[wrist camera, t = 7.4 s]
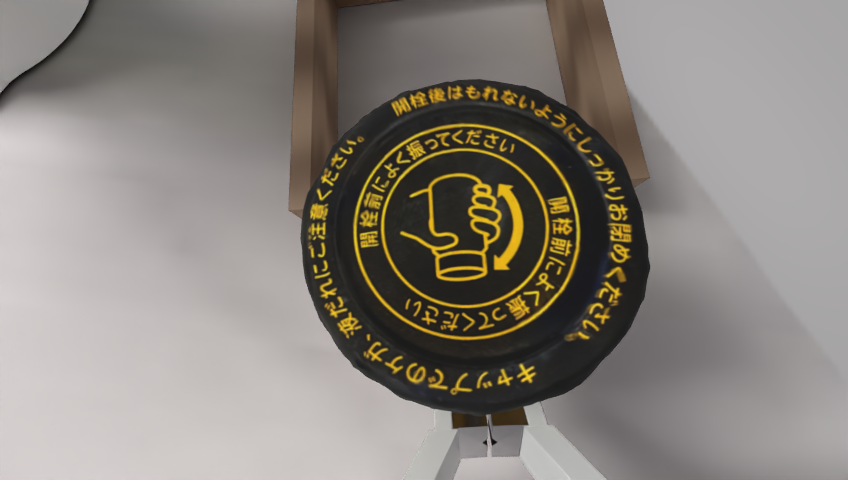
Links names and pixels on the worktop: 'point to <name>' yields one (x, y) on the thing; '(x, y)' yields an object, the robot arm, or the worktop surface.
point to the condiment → (474, 247)
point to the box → (578, 61)
